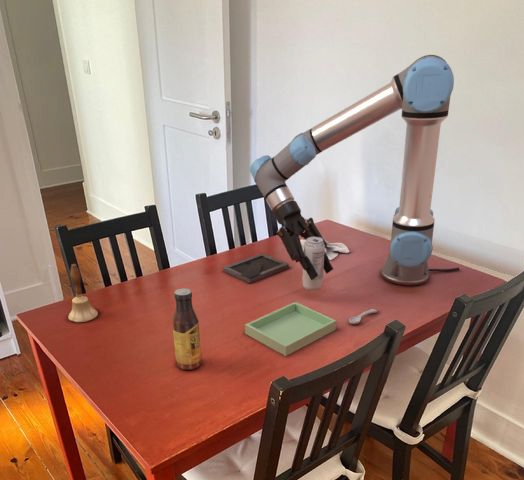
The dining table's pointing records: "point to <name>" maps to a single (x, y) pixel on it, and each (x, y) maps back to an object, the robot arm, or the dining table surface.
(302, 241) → the cloth
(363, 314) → the spoon
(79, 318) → the hand bell
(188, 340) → the sauce bottle
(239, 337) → the dining table surface
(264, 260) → the picture frame
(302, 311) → the tray
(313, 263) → the energy drink can
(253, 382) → the dining table surface
